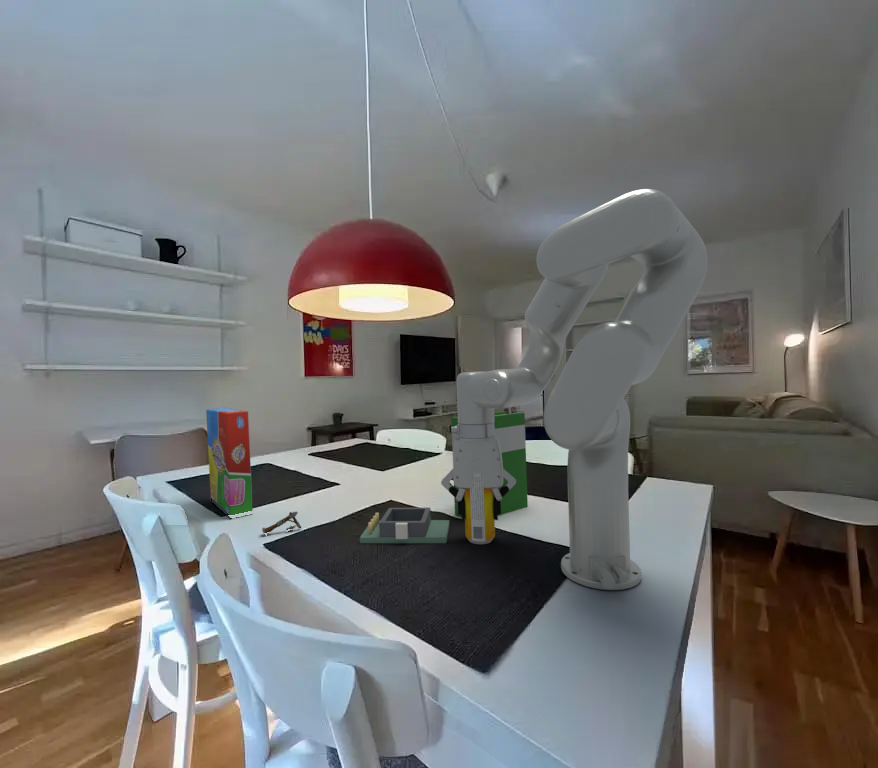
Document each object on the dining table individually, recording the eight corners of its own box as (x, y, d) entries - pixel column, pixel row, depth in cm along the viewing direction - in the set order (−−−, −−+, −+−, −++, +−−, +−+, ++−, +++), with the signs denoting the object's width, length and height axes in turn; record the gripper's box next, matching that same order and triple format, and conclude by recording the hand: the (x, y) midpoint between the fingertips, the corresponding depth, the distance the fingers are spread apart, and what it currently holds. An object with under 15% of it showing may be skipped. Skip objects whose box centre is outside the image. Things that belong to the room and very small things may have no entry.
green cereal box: (507, 500, 111) (503, 411, 111) (527, 506, 105) (524, 412, 105) (454, 514, 101) (451, 417, 101) (474, 523, 95) (470, 419, 95)
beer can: (494, 533, 88) (492, 463, 88) (495, 545, 82) (493, 470, 82) (466, 533, 89) (463, 464, 89) (465, 545, 83) (462, 471, 83)
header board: (445, 544, 84) (445, 524, 84) (358, 544, 85) (357, 524, 85) (449, 525, 94) (448, 507, 94) (372, 525, 96) (371, 507, 96)
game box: (210, 503, 119) (205, 409, 119) (230, 498, 123) (226, 407, 122) (231, 520, 104) (225, 412, 103) (253, 514, 107) (248, 410, 107)
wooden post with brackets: (305, 527, 95) (295, 510, 94) (271, 546, 92) (261, 529, 92) (304, 524, 96) (295, 508, 96) (271, 543, 94) (262, 527, 93)
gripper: (432, 435, 82) (436, 524, 83) (520, 433, 81) (523, 524, 81) (436, 430, 90) (439, 512, 90) (517, 428, 88) (520, 511, 89)
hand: (479, 517), depth 86 cm, fingers closed on beer can, 6 cm apart
